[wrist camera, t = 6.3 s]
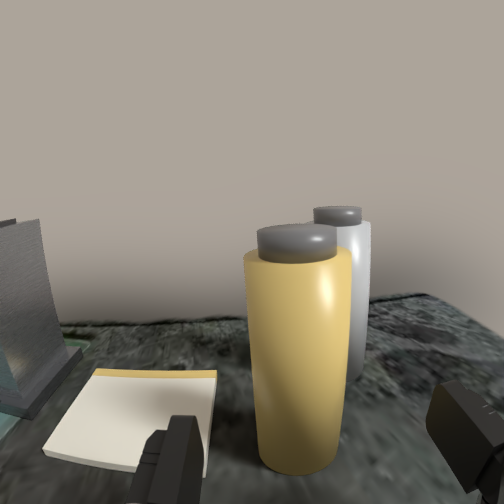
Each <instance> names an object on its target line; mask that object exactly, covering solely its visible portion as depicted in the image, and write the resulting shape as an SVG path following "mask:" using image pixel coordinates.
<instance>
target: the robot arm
mask: <svg viewBox="0 0 504 504" xmlns="http://www.w3.org/2000/svg"><path fill="white" fill-rule="evenodd" d="M426 429H427V431H428V433H429V435H430V437H431V438H432V440H433V441H434V443H435V444H436V446H437V447H438V449H439V451H440V452H441V454H442V455H443V457H444V458H445V460H446V462H447V463H448V465H449V466H450V468H451V470H452V471H453V473H454V474H455V476H456V478H457V479H458V481H459V482H460V484H461V486H462V487H463V489H464V491H465V492H466V494H468V493H470V492H472V491H474V490H476V489H479V490H480V494H479V495H478V498H477V502H476V504H504V420H503V419H502V418H501V417H500V416H499V415H498V414H497V412H494V409H493V408H492V407H491V406H490V405H489V406H488V403H487V402H486V401H485V400H484V399H483V398H482V397H481V395H479V394H477V393H475V392H473V391H471V390H469V389H468V390H467V389H466V388H465V387H464V386H463V385H462V384H461V383H460V382H459V381H458V380H452V381H448V382H445V383H441V384H438V385H436V387H435V388H434V391H433V395H432V399H431V402H430V406H429V409H428V413H427V416H426ZM203 469H204V448H203V443H202V439H201V435H200V430H199V426H198V421H197V418H196V416H195V415H172V416H171V418H170V421H169V424H168V428H167V430H155V431H154V432H153V434H152V435H151V436H150V437H149V438H148V439H147V440H146V443H145V445H144V448H143V451H142V454H141V457H140V460H139V464H138V466H137V469H136V472H135V475H134V478H133V481H132V484H131V487H130V490H129V493H128V496H127V499H126V501H125V503H124V504H199V501H200V493H201V485H202V477H203Z"/></svg>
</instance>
